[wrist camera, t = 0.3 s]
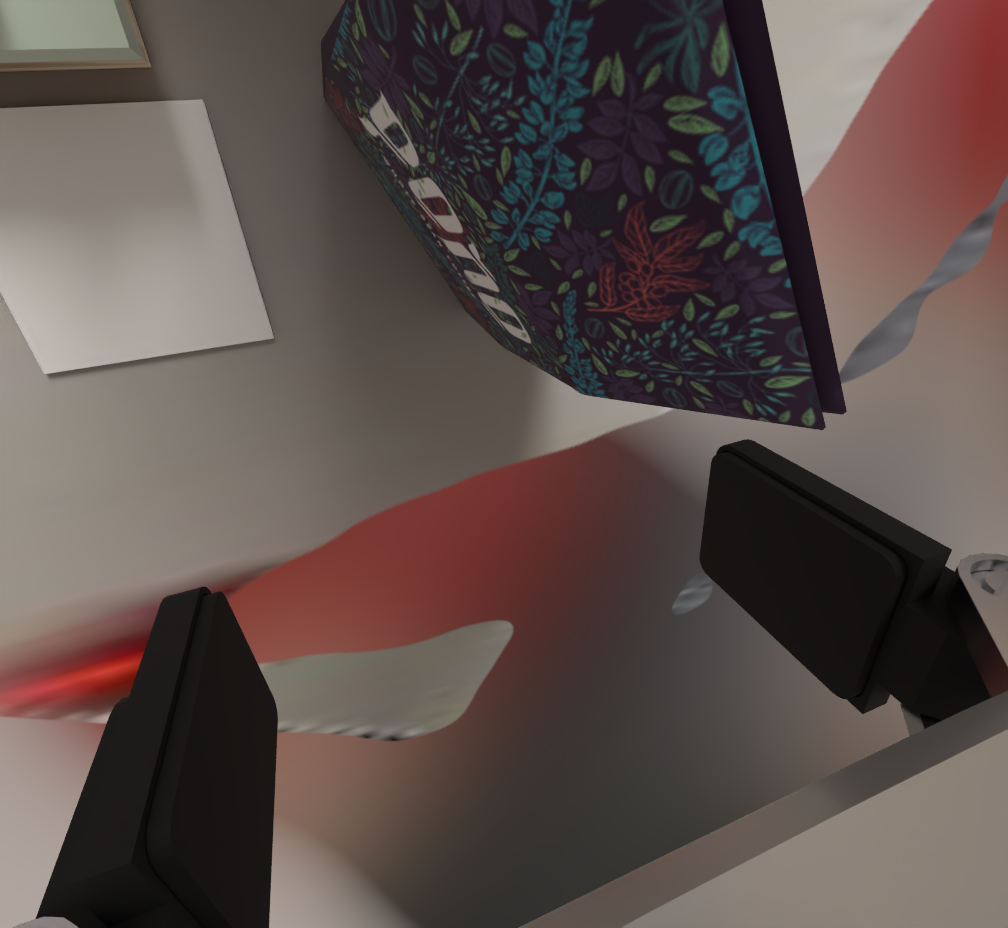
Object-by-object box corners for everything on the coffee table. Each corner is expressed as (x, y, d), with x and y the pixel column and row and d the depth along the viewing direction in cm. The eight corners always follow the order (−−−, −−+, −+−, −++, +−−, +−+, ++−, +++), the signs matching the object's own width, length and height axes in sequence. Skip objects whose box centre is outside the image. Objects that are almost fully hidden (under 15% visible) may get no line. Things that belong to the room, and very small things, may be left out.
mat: (-91, 113, 25) (-96, 112, 25) (203, 100, 28) (202, 99, 28) (46, 372, 31) (44, 374, 31) (274, 336, 34) (273, 338, 34)
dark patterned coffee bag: (466, 323, 38) (726, 525, 15) (307, 89, 29) (335, -323, 6) (554, 256, 38) (952, 353, 15) (422, 1, 29) (900, -761, 6)
